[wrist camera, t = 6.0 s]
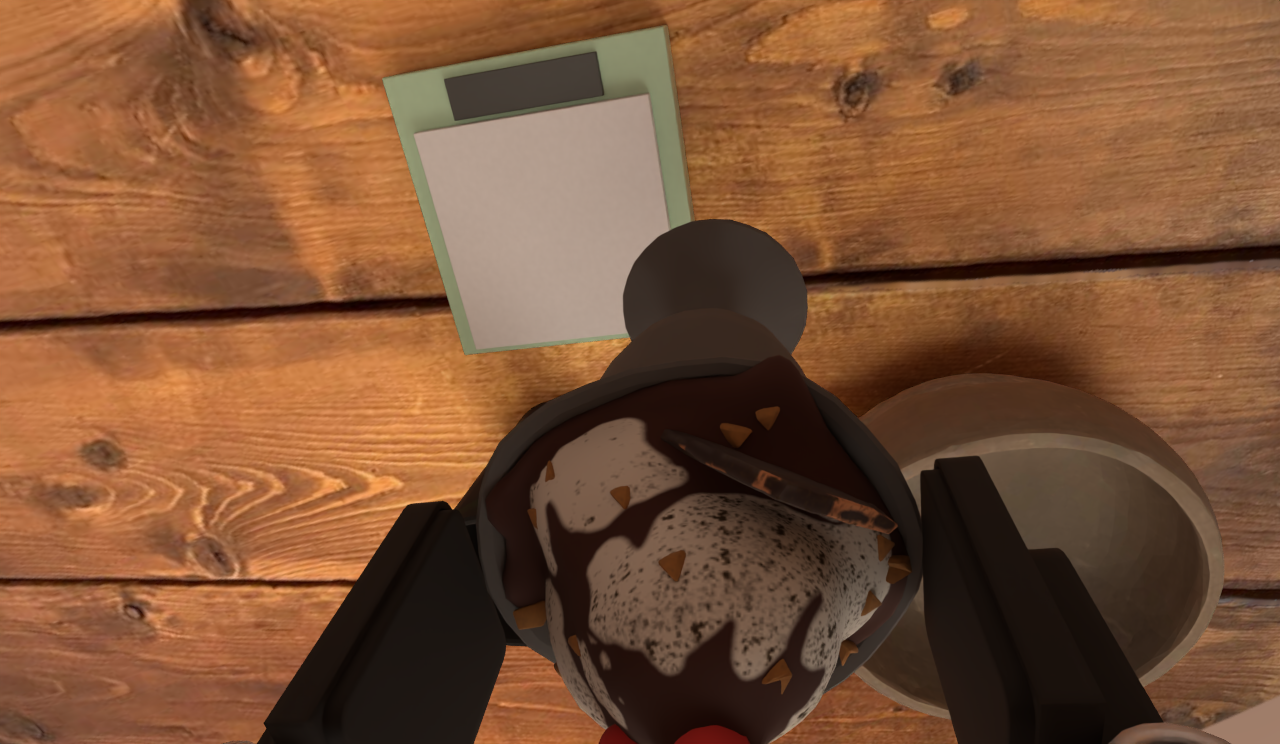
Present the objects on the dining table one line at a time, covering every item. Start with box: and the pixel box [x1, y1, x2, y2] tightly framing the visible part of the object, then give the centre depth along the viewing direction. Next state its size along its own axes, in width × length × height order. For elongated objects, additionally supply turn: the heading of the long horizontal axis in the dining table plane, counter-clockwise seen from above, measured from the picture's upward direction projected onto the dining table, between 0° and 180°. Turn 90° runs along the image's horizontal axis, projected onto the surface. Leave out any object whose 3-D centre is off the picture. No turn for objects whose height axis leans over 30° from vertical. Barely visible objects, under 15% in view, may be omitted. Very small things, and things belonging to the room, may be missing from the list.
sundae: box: [476, 219, 923, 744], centre depth 13 cm, size 7×7×15 cm
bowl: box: [854, 373, 1224, 719], centre depth 37 cm, size 17×18×10 cm
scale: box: [382, 25, 695, 355], centre depth 36 cm, size 14×13×3 cm
